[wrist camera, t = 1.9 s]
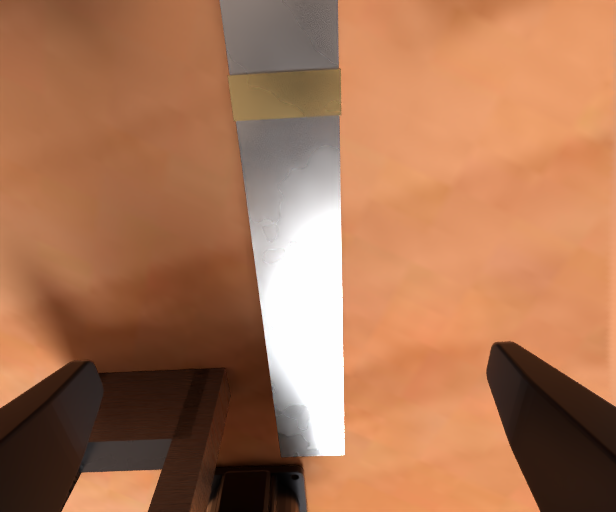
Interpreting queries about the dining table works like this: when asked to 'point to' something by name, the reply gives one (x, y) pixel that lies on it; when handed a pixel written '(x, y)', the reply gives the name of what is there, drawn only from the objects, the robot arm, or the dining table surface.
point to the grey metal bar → (293, 204)
